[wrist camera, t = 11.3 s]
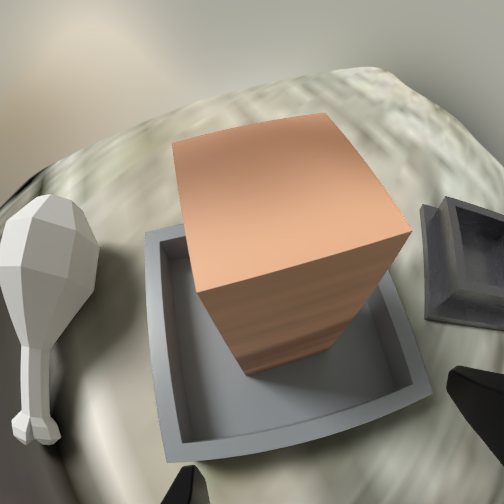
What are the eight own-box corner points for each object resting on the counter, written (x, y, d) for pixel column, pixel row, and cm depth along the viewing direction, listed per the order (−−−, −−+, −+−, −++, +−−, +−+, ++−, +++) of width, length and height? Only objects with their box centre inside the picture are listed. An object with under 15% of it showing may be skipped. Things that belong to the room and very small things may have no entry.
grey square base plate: (516, 332, 16) (540, 317, 13) (424, 319, 18) (446, 300, 15) (501, 233, 21) (518, 213, 18) (419, 209, 23) (433, 184, 20)
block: (328, 350, 16) (412, 230, 6) (245, 375, 16) (196, 292, 6) (300, 278, 19) (325, 112, 9) (225, 299, 19) (172, 143, 8)
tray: (406, 399, 15) (432, 393, 12) (185, 455, 14) (166, 462, 11) (341, 222, 22) (349, 191, 19) (161, 259, 22) (144, 232, 19)
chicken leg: (13, 421, 15) (-32, 443, 8) (31, 224, 21) (-1, 175, 14) (99, 441, 18) (82, 479, 10) (111, 234, 24) (101, 185, 17)
